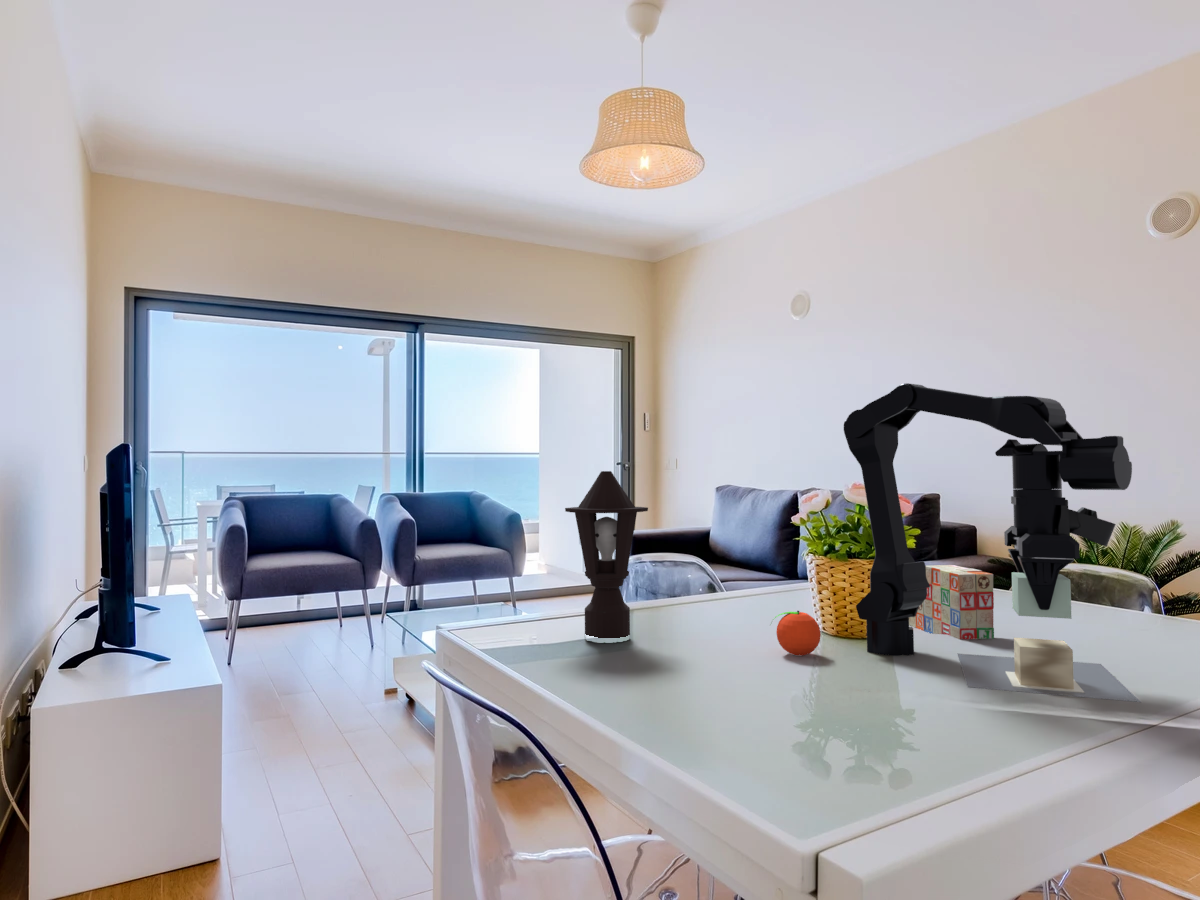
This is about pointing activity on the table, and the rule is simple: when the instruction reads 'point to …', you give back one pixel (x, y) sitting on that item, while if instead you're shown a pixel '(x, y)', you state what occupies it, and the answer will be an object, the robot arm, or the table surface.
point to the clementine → (798, 633)
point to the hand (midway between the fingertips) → (1040, 605)
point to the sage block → (1027, 604)
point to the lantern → (606, 554)
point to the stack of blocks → (957, 603)
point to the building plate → (1001, 676)
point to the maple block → (1043, 663)
